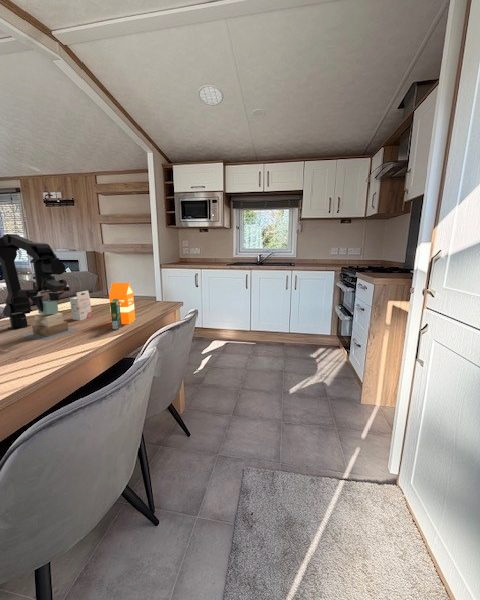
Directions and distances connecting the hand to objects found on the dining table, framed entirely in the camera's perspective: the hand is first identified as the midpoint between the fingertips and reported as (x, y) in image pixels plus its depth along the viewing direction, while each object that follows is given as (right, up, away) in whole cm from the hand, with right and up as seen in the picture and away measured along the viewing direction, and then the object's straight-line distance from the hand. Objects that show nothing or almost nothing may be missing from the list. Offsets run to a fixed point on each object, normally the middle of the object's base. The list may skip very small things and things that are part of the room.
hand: (48, 310), depth 115 cm
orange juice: (+24, -7, +20) cm, 32 cm away
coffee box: (+25, -9, +11) cm, 28 cm away
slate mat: (0, -10, +2) cm, 11 cm away
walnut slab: (0, -10, +2) cm, 10 cm away
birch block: (0, -6, +1) cm, 6 cm away
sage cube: (0, -1, 0) cm, 1 cm away
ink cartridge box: (-1, -6, +27) cm, 28 cm away
